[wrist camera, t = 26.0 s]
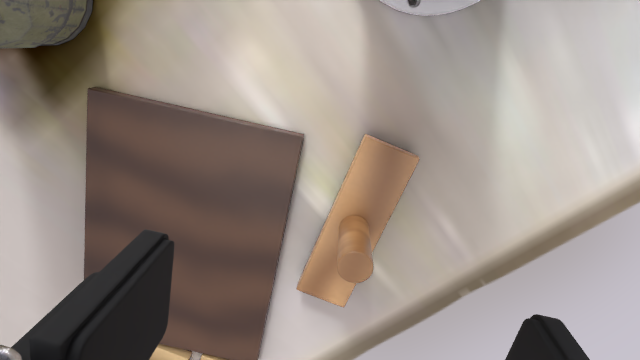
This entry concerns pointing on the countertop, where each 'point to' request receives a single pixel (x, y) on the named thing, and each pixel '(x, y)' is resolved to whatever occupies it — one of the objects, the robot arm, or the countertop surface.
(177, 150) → the tray
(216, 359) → the crumb
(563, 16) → the countertop surface
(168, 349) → the crumb
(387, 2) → the robot arm
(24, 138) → the countertop surface
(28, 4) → the olive green flask
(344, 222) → the wooden knob plate
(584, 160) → the countertop surface
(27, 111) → the countertop surface
